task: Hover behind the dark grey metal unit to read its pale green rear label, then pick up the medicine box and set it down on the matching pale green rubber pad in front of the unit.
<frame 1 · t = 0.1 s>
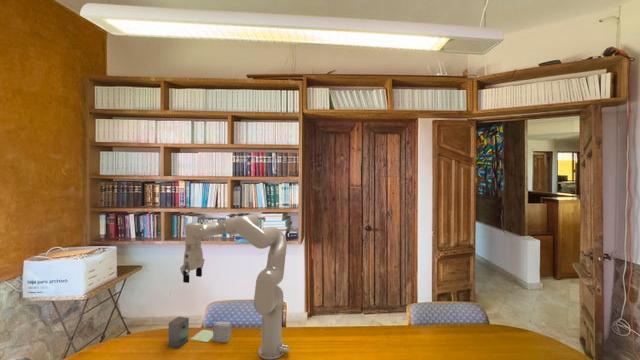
hand: (192, 279, 150), 31 cm above the table, fingers open, 9 cm apart
pad: (204, 336, 153), on the table
medicine box: (222, 340, 149), on the table
unit: (178, 344, 145), on the table
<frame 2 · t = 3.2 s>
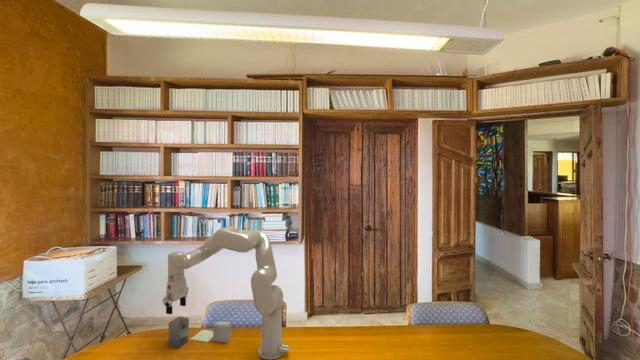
hand: (176, 309, 148), 16 cm above the table, fingers open, 9 cm apart
nothing on the table moved.
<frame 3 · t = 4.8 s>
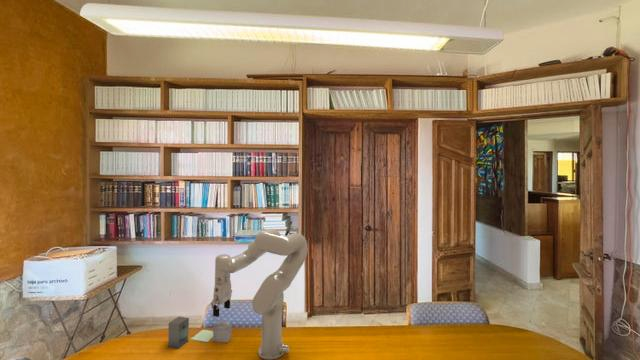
hand: (221, 312, 150), 14 cm above the table, fingers open, 9 cm apart
nothing on the table moved.
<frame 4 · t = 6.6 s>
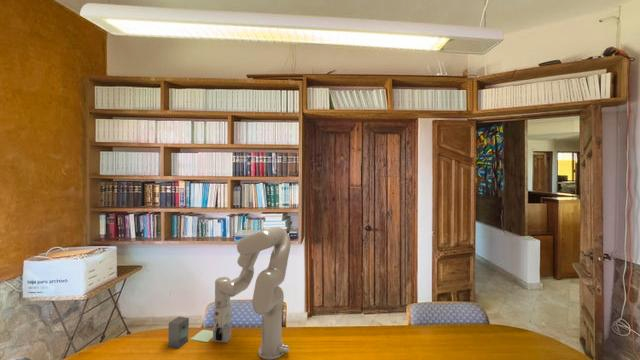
hand: (222, 336, 149), 2 cm above the table, fingers closed on medicine box, 4 cm apart
medicine box: (222, 340, 149), on the table, touching gripper
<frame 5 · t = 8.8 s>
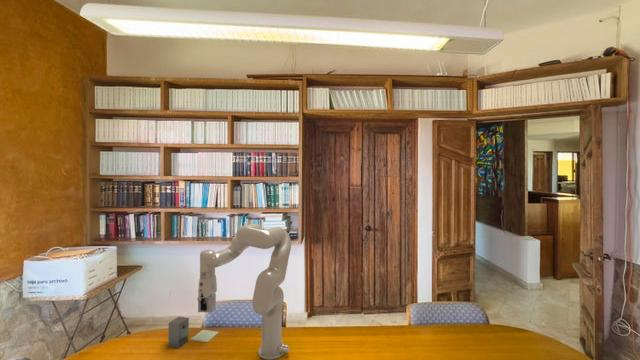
hand: (207, 307, 153), 15 cm above the table, fingers closed on medicine box, 4 cm apart
medicine box: (206, 311, 153), point 13 cm above the table, touching gripper
when the fingers open (3 cm above the table, at t = 11.2 s): medicine box drops 1 cm, resting on pad.
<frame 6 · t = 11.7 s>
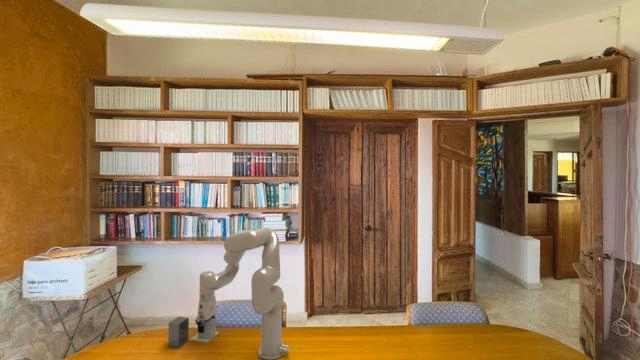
hand: (206, 328, 153), 4 cm above the table, fingers open, 9 cm apart
medicine box: (206, 336, 153), resting on pad
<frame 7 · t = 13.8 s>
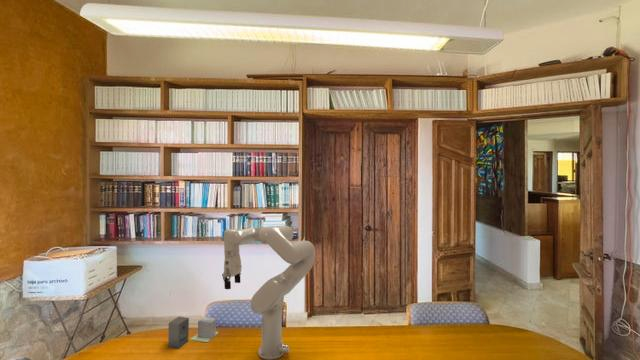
hand: (232, 285, 151), 28 cm above the table, fingers open, 9 cm apart
nothing on the table moved.
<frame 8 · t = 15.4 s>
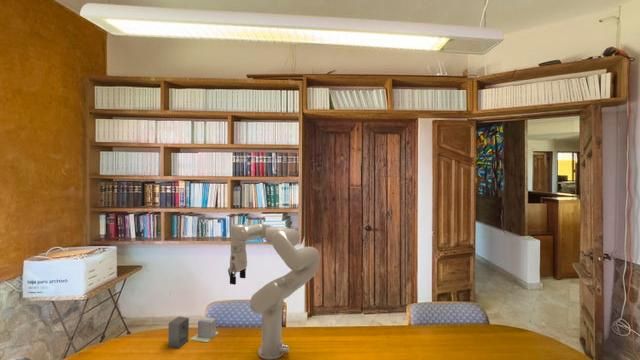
hand: (237, 281, 151), 30 cm above the table, fingers open, 9 cm apart
nothing on the table moved.
at the end: medicine box inside the target area on the pad (1.2 cm from its centre), point 0.2 cm above the pad's base; medicine box tilted 0°; the gripper is holding nothing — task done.
